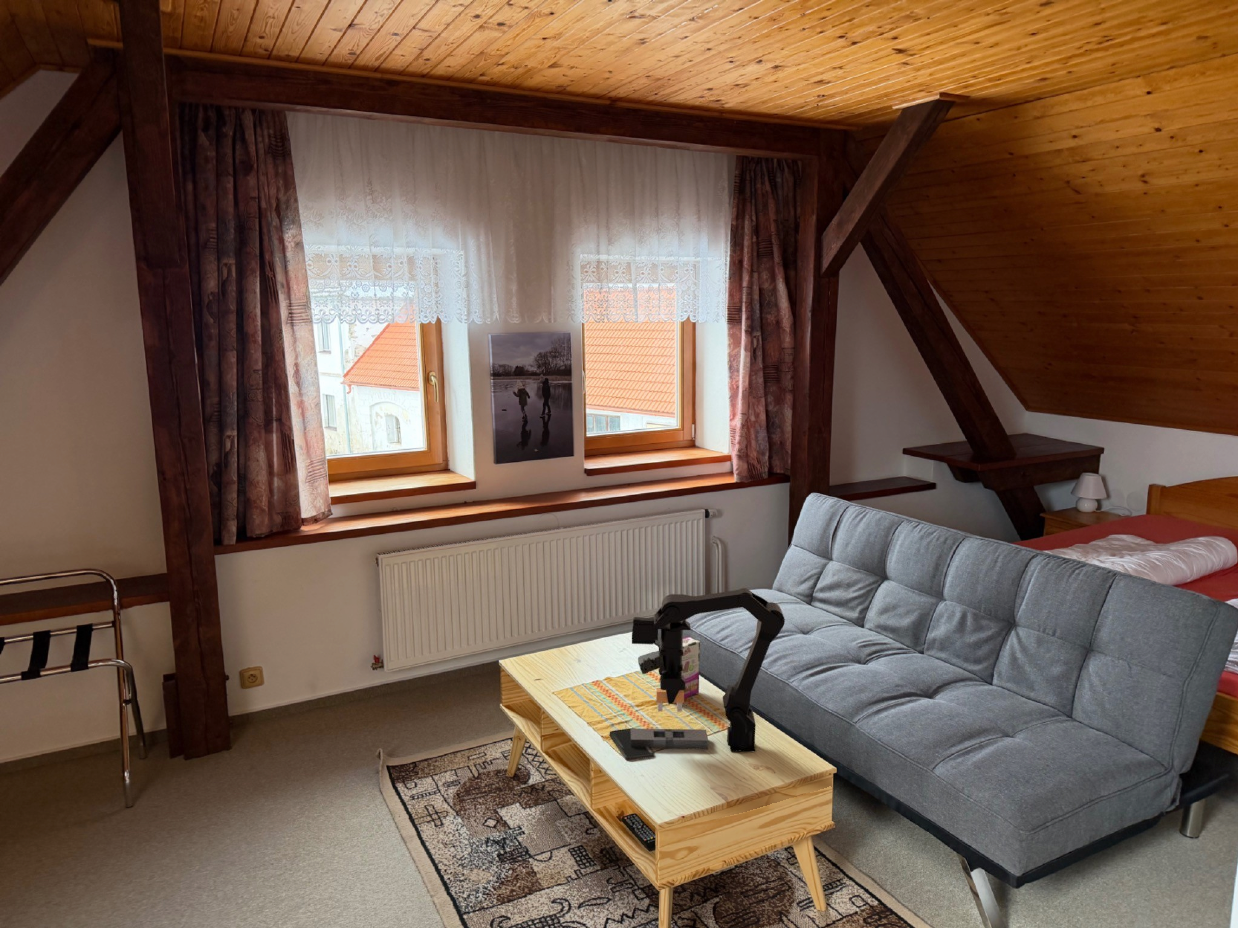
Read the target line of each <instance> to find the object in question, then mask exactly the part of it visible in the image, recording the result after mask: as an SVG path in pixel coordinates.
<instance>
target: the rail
mask: <svg viewBox="0 0 1238 928" xmlns="http://www.w3.org/2000/svg"><path fill="white" fill-rule="evenodd" d="M630 739H631V746H636V747H649V746H650V748H651V749H652V750H656V749H657V750H665V749H666V750H709V738H708V732H707V729H700V728H699V729H698V728H697V729H693V728H691V729H690V728H689V729H687V728H678V729H677V728H636V729H631V730H630Z"/></svg>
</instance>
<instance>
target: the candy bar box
mask: <svg viewBox="0 0 1238 928" xmlns="http://www.w3.org/2000/svg"><path fill="white" fill-rule="evenodd" d="M700 643H701V641H700V640H698V639H695V638H693V637H691V636H688V637H685V638H684V637H683V656H682V665H683V671H681V672H682V675H683V676H684V677H685V690H684V700H685V699H687V698H690V697H692V696H695V695H698V694H699V692H700V653H701V652H700V649H701V648H700V647H701V644H700Z"/></svg>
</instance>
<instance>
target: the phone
mask: <svg viewBox="0 0 1238 928" xmlns="http://www.w3.org/2000/svg"><path fill="white" fill-rule="evenodd" d="M631 729H637V728H635V727H632V728H631V727H630V728H624V729H617V730H616V729H615V730H610V731H609V737H610V739H611V740H612V742H613V744H614V745H615V746H616V748H617V749H618V751H619V753H620V754H621V756H622V757H623V759H624V760H625V761H635V760H642V759H643V760H644V759H651V758H653V757H654V756H655V752H654V751H653V750H654V749H651V748H650V746H649V747H636V746H631V739H630V730H631Z"/></svg>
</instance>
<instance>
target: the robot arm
mask: <svg viewBox="0 0 1238 928" xmlns="http://www.w3.org/2000/svg"><path fill="white" fill-rule="evenodd" d="M740 608H743V609H745V610H746V611H747V612H748V613H749V614H750V615H752V617H754V618H755V619H756V620H757V621H756V632H755V635H754V638H753V641H752V644H751V646H750V647H749V650H748V653H747V655H746V659H745V660H744V663H743V666H742V669H741V670H740V673H739V676H738V678H737V681H736V682H735V683H734V684H733V686H731V685H730V684H727V686H726V691H725V692H724V693H725V694H723V695H722V702H723V709H724V715H725V717H726V720H728V721H729V726H727V729H726V730H727V731H726V733H727V735H726V742H727V746H728V747H729V750H730V752H738V753H739V752H747V753H748V752H749V753H750V752H751V753H755V752H756V751H757V749H756V745H755V742H756V726H757V724H756V720H755V716H754V710H753V709H752V708H751V707H750V705H751V695H752V691H753V687H754V685H755V683H756V681H757V678H758V676H759V673H760V670H761V668H762V665H763V663H764V660H765V658H766V655H767V653H768V650H769V648H770V645H771V644H772V642H773V641H774V640H775V639H776V638H777V637H778V636H779V634H780V633H781V631H782V629H783V627H785V620H786V619H785V616H784V613H783V611H782V608H781V606H780V605H779V604H778V603H776V602H771V601H768V600H766V599H765V598H763V597H761V596H760V595H759V594H756V593H754V592H753V591H751V590H750V589H749V588H747V587H743V588H739V589H735V590H729V591H723V592H722V591H721V592H717V593H716V592H715V593H707V594H703V595H688V594H681V593H679V594H678V593H677V594H675V593H672V594H668V595H666V596H664V598H663V599H662V601H661V606H660V607H659V609H658V610H657V611H656V612H655V613H654V614H653V618H652V617H651V618H650V617H640V616H633V619H632V629H631V630H632V631H631V644H632V645H651V646H653V645H654V644H656V642H657V641H659V630H660V643H659V645H658V650H655V651H652V652H648V653H646V654H645V653H644V654H642V655H639V656H638V657H637V662H638V666H639V670H640V671H641V674H642V675H645V674H648V673H650V672H653V671H656V670H658V675H660V676H659V688H660V689H661V690H666V693H667V699H668V703H667V704H668V705H672V704H674V703H673V702H674V700H675V698H676V696H677V694H678V692H679V690H685V677H684V676H683V675H682V672H681V671H683V665H682V656H683V639H684V631H691V623H690V622H688V619H690V618H692V617H694V616H697V615H699V614H706V613H712V612H718V611H726V610H727V611H728V610H732V609H740Z"/></svg>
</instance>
